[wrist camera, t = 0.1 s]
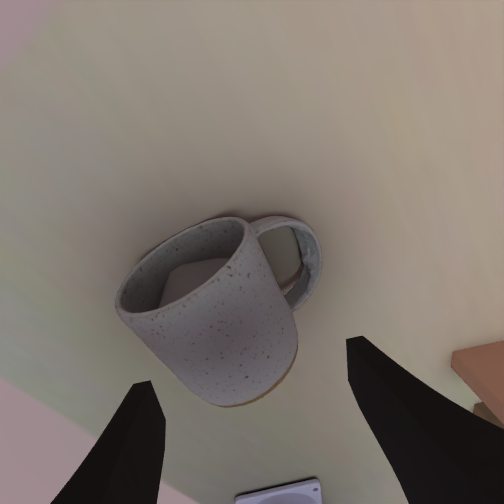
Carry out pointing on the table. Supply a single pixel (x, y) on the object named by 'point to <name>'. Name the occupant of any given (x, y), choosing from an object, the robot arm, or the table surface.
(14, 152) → the table surface
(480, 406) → the bronze rectangular prism
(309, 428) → the table surface
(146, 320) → the ceramic mug
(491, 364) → the picture frame
